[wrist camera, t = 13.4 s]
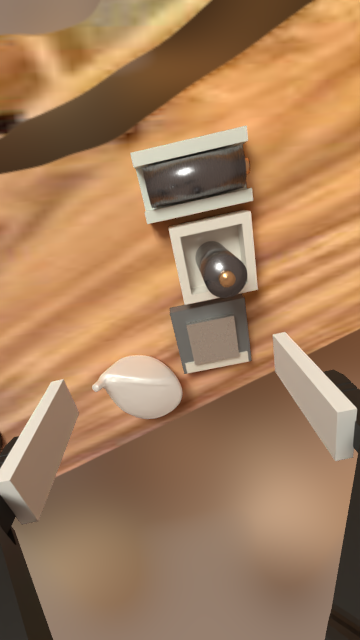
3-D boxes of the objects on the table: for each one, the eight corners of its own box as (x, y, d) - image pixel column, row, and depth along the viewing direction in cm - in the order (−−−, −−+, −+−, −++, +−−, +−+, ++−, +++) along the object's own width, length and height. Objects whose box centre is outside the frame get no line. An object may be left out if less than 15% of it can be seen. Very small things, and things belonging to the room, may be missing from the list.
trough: (149, 221, 36) (147, 224, 33) (133, 157, 33) (130, 152, 30) (245, 200, 36) (253, 200, 33) (239, 132, 33) (246, 125, 30)
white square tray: (183, 296, 41) (184, 304, 38) (168, 226, 37) (168, 229, 34) (250, 282, 40) (257, 289, 37) (243, 209, 36) (250, 211, 33)
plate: (194, 361, 43) (194, 364, 43) (185, 322, 41) (186, 325, 40) (237, 352, 43) (239, 356, 42) (232, 313, 40) (233, 315, 39)
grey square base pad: (183, 366, 46) (184, 374, 44) (169, 308, 42) (169, 313, 40) (248, 354, 46) (252, 361, 44) (241, 293, 41) (245, 298, 39)
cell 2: (197, 275, 39) (208, 303, 28) (193, 244, 37) (202, 261, 26) (228, 269, 39) (250, 296, 28) (225, 238, 37) (248, 253, 26)
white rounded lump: (104, 365, 36) (164, 434, 35) (149, 333, 45) (198, 388, 44) (75, 397, 42) (126, 457, 41) (119, 364, 51) (162, 413, 50)
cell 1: (153, 207, 35) (151, 209, 31) (144, 169, 33) (141, 165, 29) (244, 187, 34) (255, 185, 30) (241, 146, 32) (251, 139, 28)
